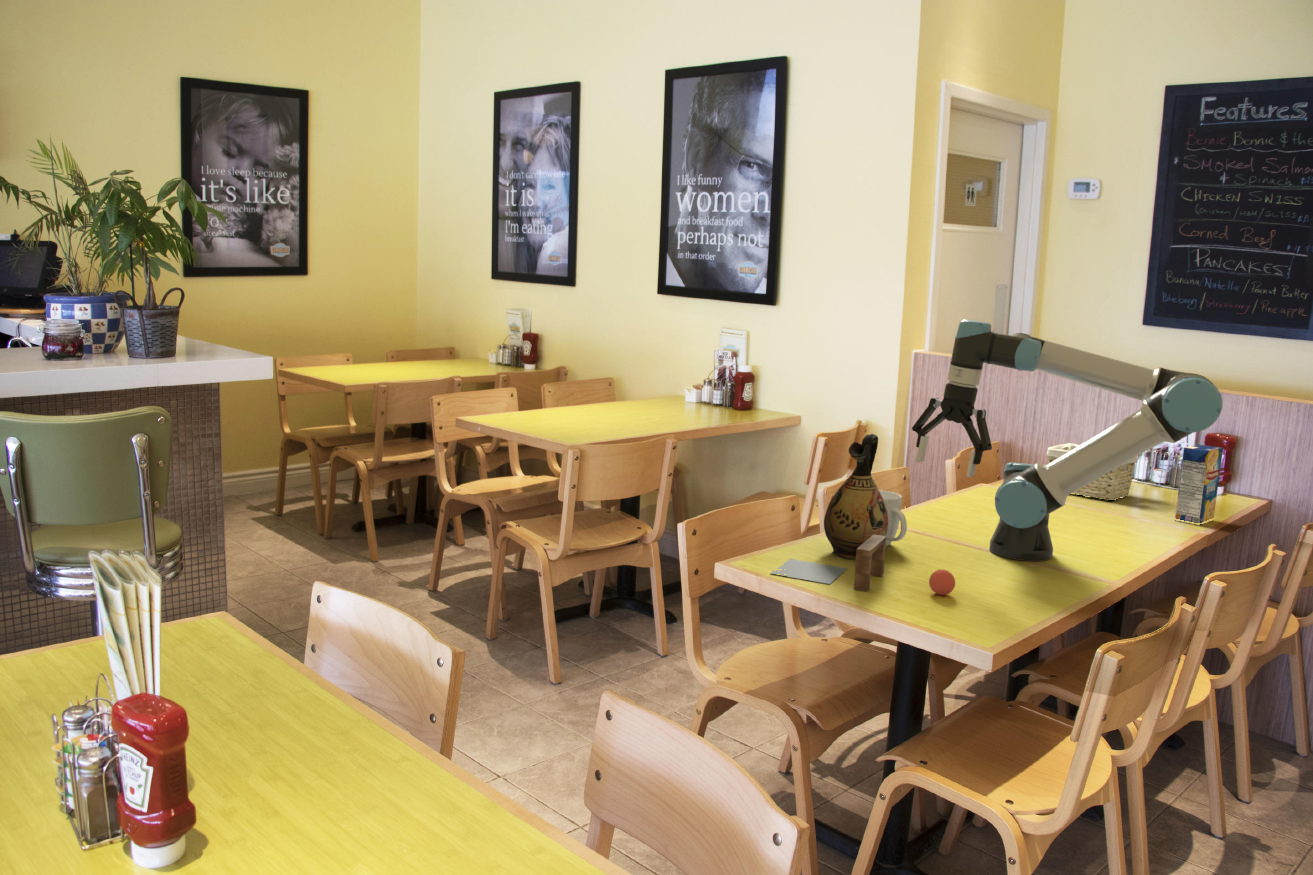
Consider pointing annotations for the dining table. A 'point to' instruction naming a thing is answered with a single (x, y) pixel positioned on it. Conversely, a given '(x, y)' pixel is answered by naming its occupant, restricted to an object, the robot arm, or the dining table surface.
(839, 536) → the ceramic jug
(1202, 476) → the blue cardboard box
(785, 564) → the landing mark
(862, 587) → the bridge
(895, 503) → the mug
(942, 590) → the ball
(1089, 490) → the storage basket
